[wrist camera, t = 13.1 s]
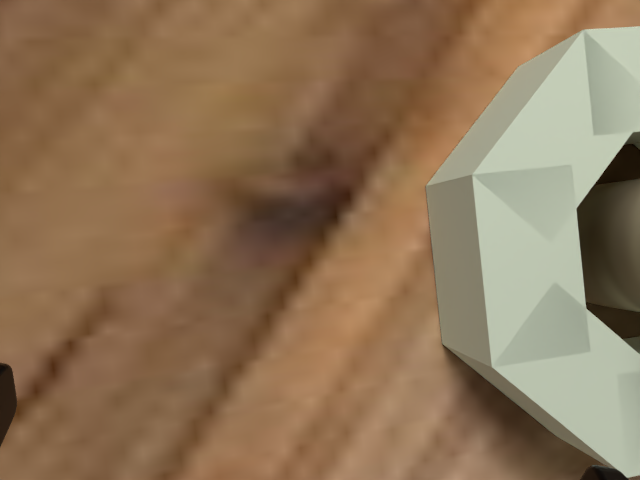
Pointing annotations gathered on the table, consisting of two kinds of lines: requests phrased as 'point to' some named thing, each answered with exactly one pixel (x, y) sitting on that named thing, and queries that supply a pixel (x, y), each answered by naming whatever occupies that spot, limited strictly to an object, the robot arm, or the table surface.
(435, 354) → the table surface
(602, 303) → the maple peg
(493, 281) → the sage ashtray
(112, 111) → the table surface
